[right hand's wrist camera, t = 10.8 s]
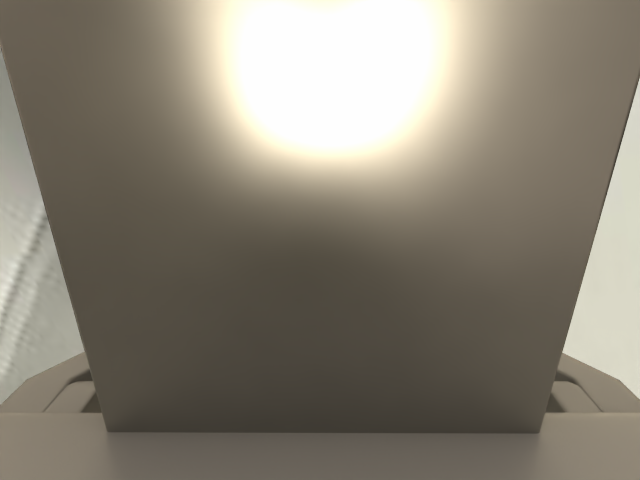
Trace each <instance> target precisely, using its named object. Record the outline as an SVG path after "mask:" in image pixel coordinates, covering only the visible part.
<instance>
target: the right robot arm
mask: <svg viewBox="0 0 640 480" xmlns="http://www.w3.org/2000/svg"><path fill="white" fill-rule="evenodd" d="M0 480H640V399H638V398H637V397H636V396H635V395H634V394H633V393H632V392H631V391H630V390H629V389H628V388H627V387H626V386H625V385H624V384H623V383H622V382H621V381H620V380H618V379H616V378H614V377H612V376H610V375H608V374H605V373H603V372H601V371H599V370H597V369H595V368H593V367H591V366H589V365H587V364H585V363H582V362H580V361H578V360H576V359H574V358H572V357H570V356H568V355H566V354H564V353H562V355H561V358H560V362H559V365H558V369H557V372H556V376H555V379H554V383H553V386H552V390H551V394H550V397H549V401H548V404H547V408H546V411H545V415H544V418H543V422H542V426H541V429H540V433H537V434H509V433H175V432H107V430H106V426H105V423H104V419H103V416H102V412H101V408H100V405H99V401H98V397H97V394H96V390H95V387H94V383H93V379H92V376H91V372H90V368H89V365H88V361H87V358H86V354H85V352H83V353H81V354H79V355H77V356H75V357H73V358H71V359H68V360H66V361H64V362H62V363H60V364H58V365H56V366H54V367H52V368H50V369H48V370H46V371H44V372H42V373H39V374H37V375H35V376H33V377H31V378H29V379H27V380H26V381H25V382H24V383H23V384H22V385H21V386H20V387H19V388H18V389H17V390H16V391H14V392H13V393H12V394H11V395H10V396H9V397H8V398H7V399H6V400H5V401H4V402H3V403H2V404H1V405H0Z"/></svg>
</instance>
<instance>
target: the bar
mask: <svg viewBox="0 0 640 480" xmlns="http://www.w3.org/2000/svg"><path fill="white" fill-rule="evenodd" d="M0 46H1V50H2V54H3V57H4V61H5V64H6V68H7V72H8V75H9V79H10V83H11V86H12V90H13V93H14V97H15V101H16V104H17V108H18V111H19V115H20V119H21V122H22V126H23V130H24V133H25V137H26V140H27V144H28V148H29V151H30V155H31V159H32V162H33V166H34V169H35V173H36V177H37V180H38V184H39V188H40V191H41V195H42V198H43V202H44V206H45V209H46V213H47V216H48V220H49V224H50V227H51V231H52V235H53V238H54V242H55V245H56V249H57V253H58V256H59V260H60V264H61V267H62V271H63V274H64V278H65V282H66V285H67V289H68V292H69V296H70V300H71V303H72V307H73V311H74V314H75V318H76V321H77V325H78V329H79V332H80V336H81V340H82V343H83V347H84V350H85V354H86V358H87V361H88V365H89V368H90V372H91V376H92V379H93V383H94V387H95V390H96V394H97V397H98V401H99V405H100V408H101V412H102V416H103V419H104V423H105V426H106V430H107V432H175V433H509V434H537V433H540V429H541V426H542V422H543V418H544V415H545V411H546V408H547V404H548V401H549V397H550V394H551V390H552V386H553V383H554V379H555V376H556V372H557V369H558V365H559V362H560V358H561V355H562V351H563V347H564V344H565V340H566V337H567V333H568V330H569V326H570V323H571V319H572V316H573V312H574V308H575V305H576V301H577V298H578V294H579V291H580V287H581V284H582V280H583V277H584V273H585V269H586V266H587V262H588V259H589V255H590V252H591V248H592V245H593V241H594V237H595V234H596V230H597V227H598V223H599V220H600V216H601V213H602V209H603V206H604V202H605V198H606V195H607V191H608V188H609V184H610V181H611V177H612V174H613V170H614V167H615V163H616V159H617V156H618V152H619V149H620V145H621V142H622V138H623V135H624V131H625V128H626V124H627V120H628V117H629V113H630V110H631V106H632V103H633V99H634V96H635V92H636V88H637V85H638V81H639V78H640V0H0Z"/></svg>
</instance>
